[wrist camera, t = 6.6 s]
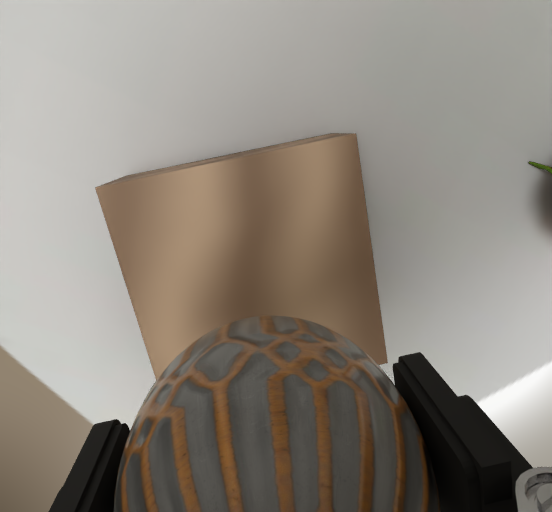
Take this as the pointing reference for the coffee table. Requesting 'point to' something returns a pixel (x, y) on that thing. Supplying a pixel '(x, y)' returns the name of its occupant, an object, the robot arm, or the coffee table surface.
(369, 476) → the vase
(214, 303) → the walnut box
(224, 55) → the coffee table surface
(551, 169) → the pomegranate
